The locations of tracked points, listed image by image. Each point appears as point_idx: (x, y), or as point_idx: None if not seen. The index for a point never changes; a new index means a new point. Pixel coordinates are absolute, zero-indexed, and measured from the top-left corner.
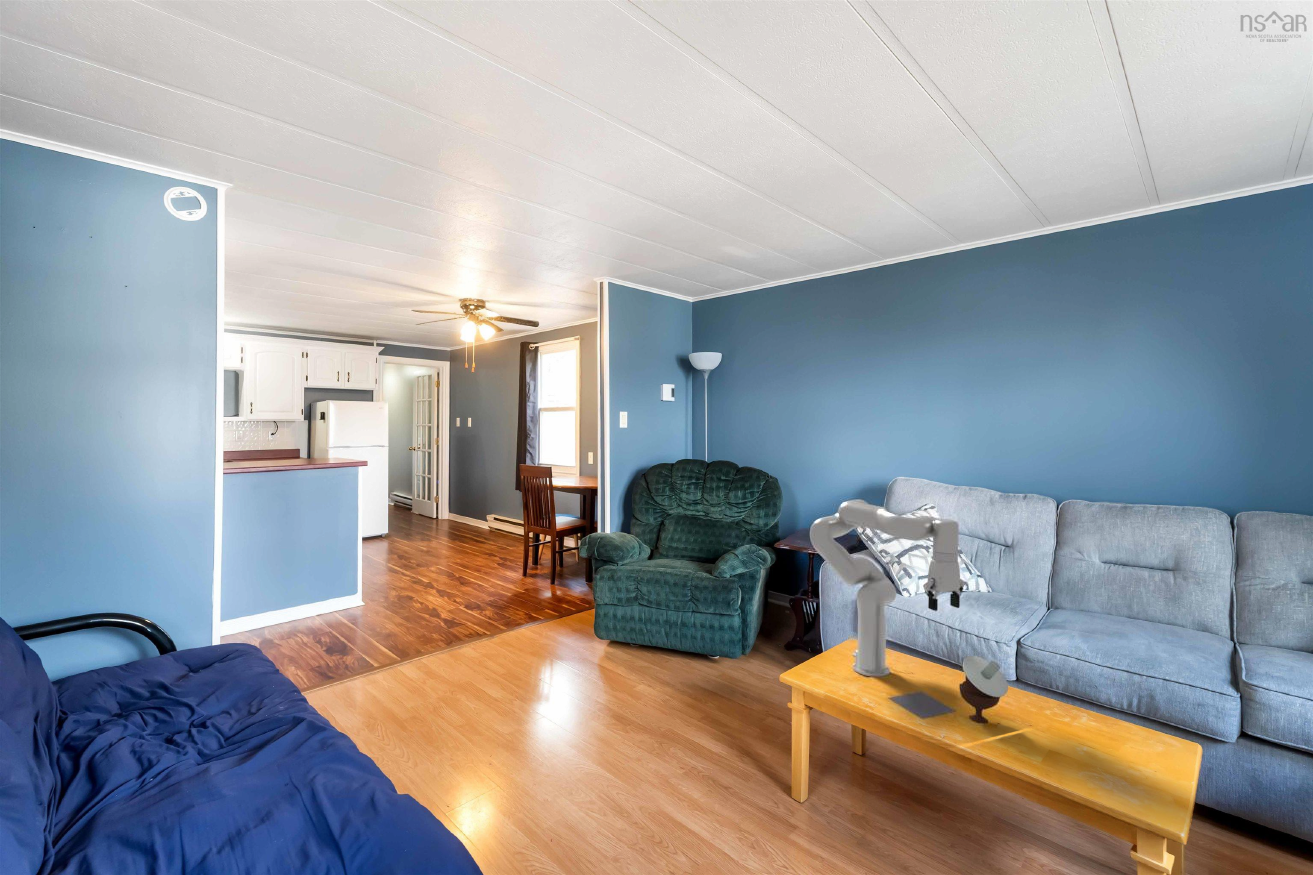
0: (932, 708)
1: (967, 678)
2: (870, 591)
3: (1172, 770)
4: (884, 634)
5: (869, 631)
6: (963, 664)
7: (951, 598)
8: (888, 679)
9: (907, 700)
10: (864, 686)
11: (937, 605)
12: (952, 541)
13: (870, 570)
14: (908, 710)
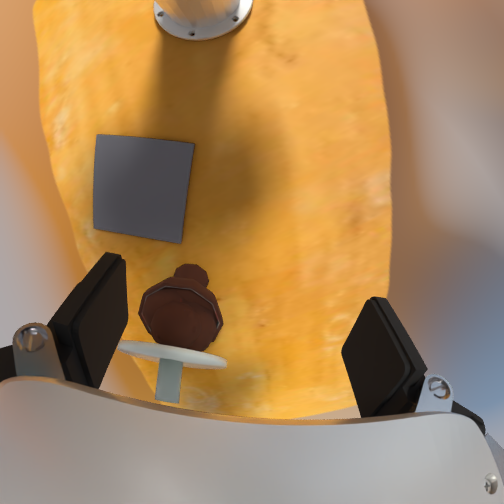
0: (143, 212)
1: (152, 319)
2: None
3: (287, 414)
4: None
5: None
6: (124, 344)
7: (384, 349)
8: (192, 53)
9: (124, 161)
10: (107, 63)
11: (115, 348)
12: None
13: None
14: (93, 194)
